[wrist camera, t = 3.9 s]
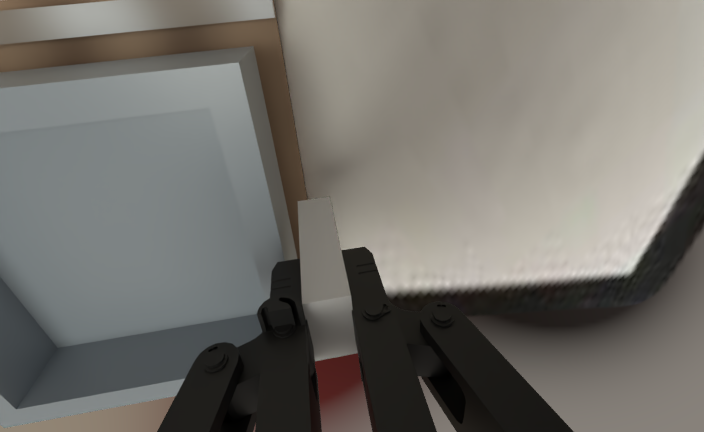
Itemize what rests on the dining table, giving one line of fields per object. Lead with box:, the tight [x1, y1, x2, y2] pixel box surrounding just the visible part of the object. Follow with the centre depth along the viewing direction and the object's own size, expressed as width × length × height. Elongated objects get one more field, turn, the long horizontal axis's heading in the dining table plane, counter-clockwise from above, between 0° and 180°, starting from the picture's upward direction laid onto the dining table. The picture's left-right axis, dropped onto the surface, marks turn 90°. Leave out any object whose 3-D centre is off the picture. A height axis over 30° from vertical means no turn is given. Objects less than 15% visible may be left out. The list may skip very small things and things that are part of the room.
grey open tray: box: [0, 46, 298, 428], centre depth 17 cm, size 15×15×8 cm
